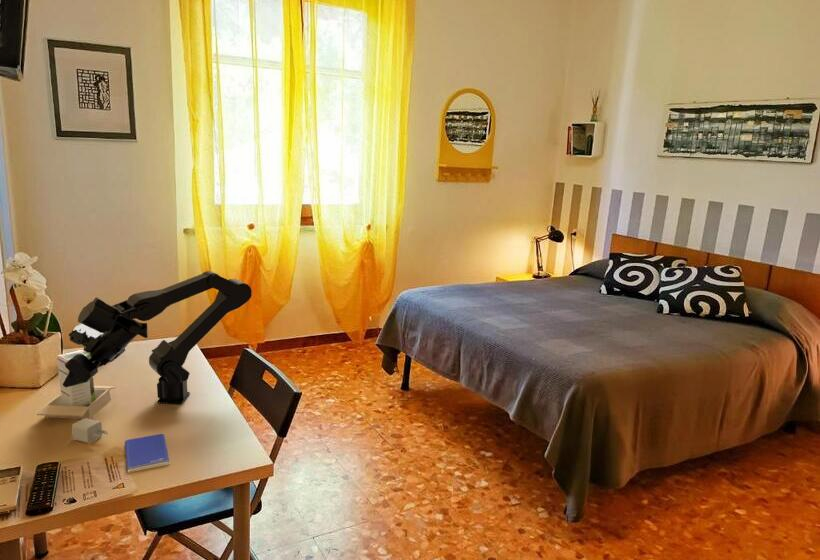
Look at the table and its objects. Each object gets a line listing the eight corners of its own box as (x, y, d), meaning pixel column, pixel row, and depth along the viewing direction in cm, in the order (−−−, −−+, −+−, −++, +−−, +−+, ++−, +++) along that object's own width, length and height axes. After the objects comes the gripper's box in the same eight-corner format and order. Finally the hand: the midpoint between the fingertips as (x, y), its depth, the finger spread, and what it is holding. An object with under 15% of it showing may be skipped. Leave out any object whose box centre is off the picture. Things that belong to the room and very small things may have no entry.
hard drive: (169, 459, 120) (164, 433, 131) (126, 468, 116) (124, 439, 127) (169, 466, 121) (164, 439, 131) (127, 474, 117) (125, 446, 127)
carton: (115, 394, 151) (115, 383, 150) (83, 424, 135) (82, 412, 134) (75, 393, 150) (74, 382, 149) (37, 423, 134) (36, 410, 133)
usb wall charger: (88, 432, 131) (86, 416, 130) (111, 438, 129) (110, 422, 128) (73, 440, 128) (71, 424, 127) (96, 447, 125) (95, 430, 125)
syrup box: (72, 415, 138) (66, 360, 135) (61, 408, 142) (56, 354, 138) (96, 408, 143) (91, 354, 139) (85, 401, 146) (80, 348, 143)
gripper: (109, 304, 146) (69, 343, 148) (70, 327, 128) (25, 370, 130) (142, 334, 148) (102, 372, 150) (108, 360, 130) (63, 403, 132)
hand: (74, 378), depth 140 cm, fingers open, 9 cm apart
